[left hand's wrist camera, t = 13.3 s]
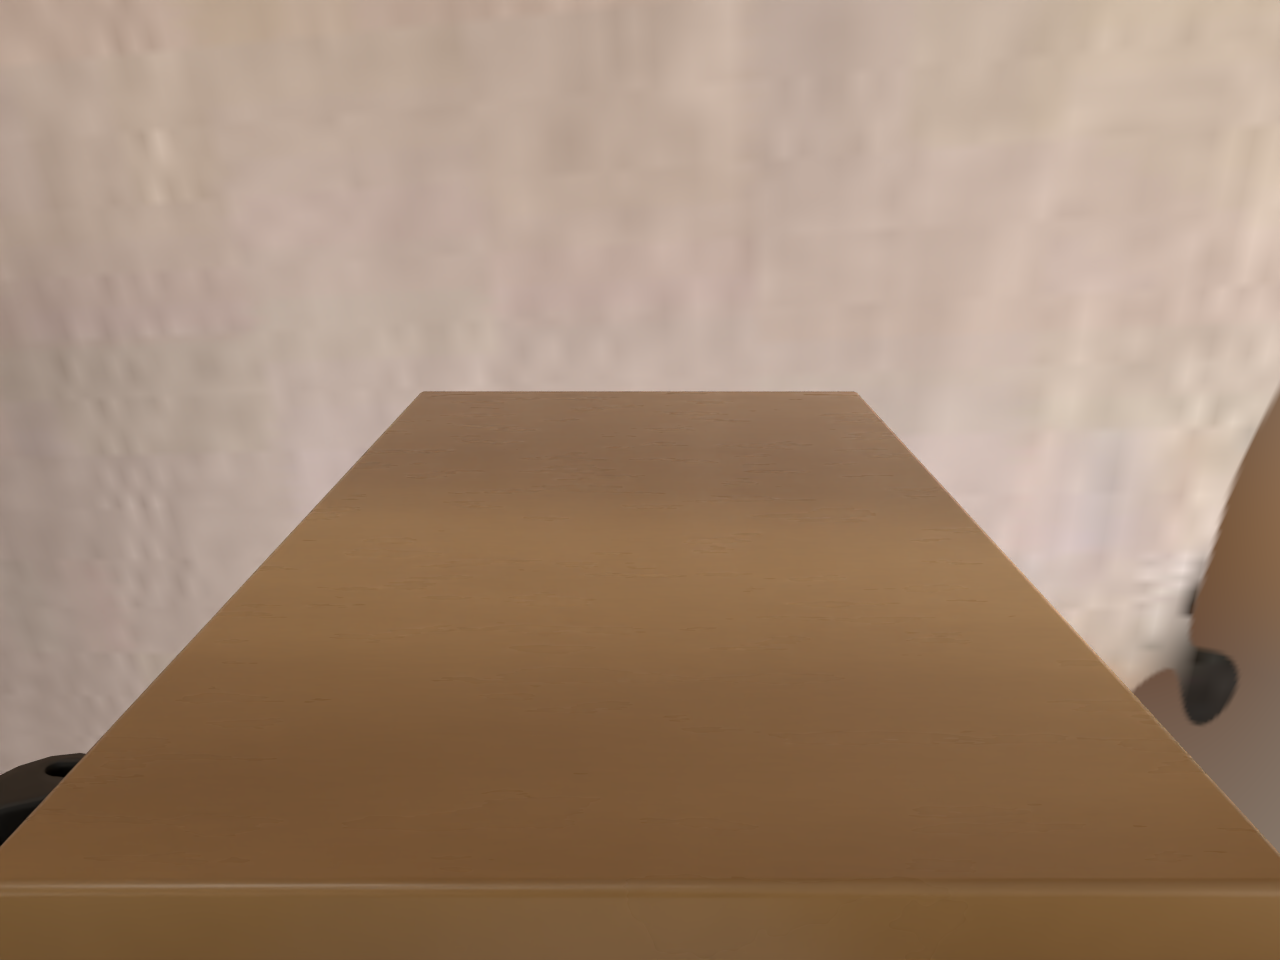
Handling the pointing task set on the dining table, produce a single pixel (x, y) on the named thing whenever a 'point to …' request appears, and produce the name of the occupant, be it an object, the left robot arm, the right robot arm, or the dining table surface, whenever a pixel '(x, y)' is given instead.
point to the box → (638, 723)
